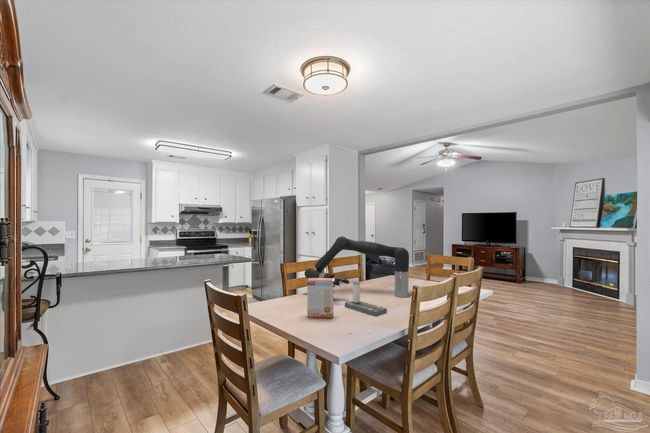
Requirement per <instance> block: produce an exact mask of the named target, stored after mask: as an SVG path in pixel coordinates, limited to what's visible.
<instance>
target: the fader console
mask: <svg viewBox="0 0 650 433" xmlns="http://www.w3.org/2000/svg"><path fill="white" fill-rule="evenodd" d="M352 301H353V300H351V301H347V302H344V308H346V309H350V310H353V311H357V312H360V313H363V314H366V315H370V316H373V317H378V316H381V315H385V314H387V313H388V308H387V307H383V306H380V305H376V304H373V303H368V302H365V301H362V300H360V301H361V303H358V304H356V303H352Z"/></svg>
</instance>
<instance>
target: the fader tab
mask: <svg viewBox="0 0 650 433" xmlns="http://www.w3.org/2000/svg"><path fill="white" fill-rule="evenodd" d="M360 295H361V281H358V280H354V281H352V300H351V301H352V303H356V304H358V303H361V301H362V300H361V296H360Z"/></svg>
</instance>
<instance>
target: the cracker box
mask: <svg viewBox="0 0 650 433" xmlns="http://www.w3.org/2000/svg"><path fill="white" fill-rule="evenodd" d="M306 290H307V293H306V294H307V295H306V296H307V304H306V305H307V308H306V309H307V310H306V311H307V318H308V319H309V318H313V319H314V318H315V319H317V318H318V319H334V318H333V317H334V285H333V278H309V279H308V278H307V287H306Z"/></svg>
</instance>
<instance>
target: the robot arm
mask: <svg viewBox="0 0 650 433" xmlns="http://www.w3.org/2000/svg"><path fill="white" fill-rule="evenodd" d="M342 251H354V252H357V253H360V254H363V255H367V256H373V257H388V258H392V259H394V296H395V297H397V298H408V297H409V267H410V253H409V251H408V250H407V249H406V248H404V247H398V246H389V245H386V244H382V243H377V242H373V241H365V240H354V239H350V238H347V237H345V236H339V237H337V238H336V240H335V241H334V242H333V243H332V246H331V247H330V248H329V249H328V250H327V251H326V252H325V254H323V255H322V257H320V259H318V260H317V261H316V263H315V264H314V267H315V269H314V268H307V269H305V271H304V272H303V274H304V277H305V278H307V280H308V279H309V278H333V286H337V287H338V286H339V287H340V284H346V285H350V280H349V279H347V278H345V277H342V276H340V277H336V276H335V275H334V274H332V273H328V272H323V271H324V270H325V269H326V268H327V267H328V266H329V265H330V263H331V262H332V261H333V259H335V257H336V256H337V255H338V254H339V253H340V252H342Z"/></svg>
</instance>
